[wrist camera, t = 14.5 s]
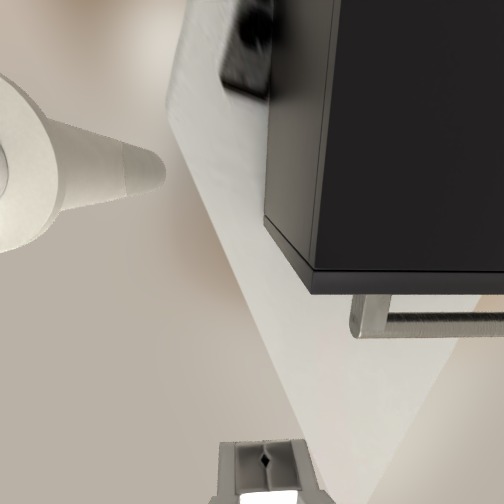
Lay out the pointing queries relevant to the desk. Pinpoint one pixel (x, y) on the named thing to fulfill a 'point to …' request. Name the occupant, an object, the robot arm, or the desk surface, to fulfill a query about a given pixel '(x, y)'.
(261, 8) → the desk surface
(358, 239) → the oven
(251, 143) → the desk surface
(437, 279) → the oven door
